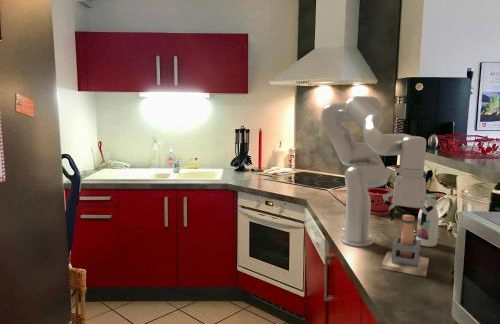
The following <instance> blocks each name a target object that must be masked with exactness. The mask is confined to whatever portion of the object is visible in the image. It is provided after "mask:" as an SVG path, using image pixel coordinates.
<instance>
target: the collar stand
mask: <svg viewBox="0 0 500 324" xmlns="http://www.w3.org/2000/svg"><path fill="white" fill-rule="evenodd" d="M421 248H422V245H421V240H417V239H415V238H413V245H407V244H401V236H395V237H394V239H393V242H392V247H391V251H390V250H389V251H387V252H386V253H385V256H384V258H383V260H382V262H381V264H380V265H381V267H380V268H381V269H383V270H387V271H393V272H399V273H403V274H404V273H405V274H410V275H414V276H415V275H416V276H420V277H427V273H428V267H429V264H430V263H429V262H430V258H429V257H426V256H425V257H424V256H421ZM400 250H401V251H407V252H413V253H412V258H408V257H402V256H400Z"/></svg>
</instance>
